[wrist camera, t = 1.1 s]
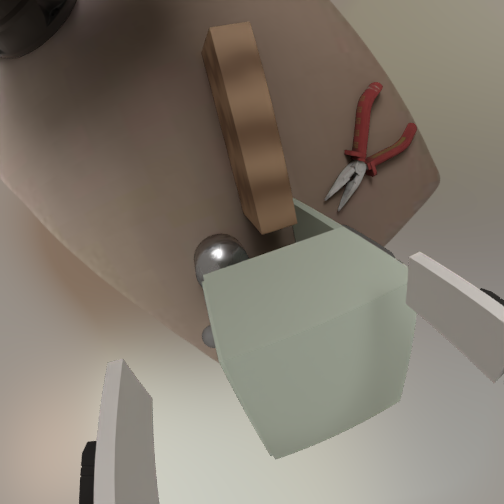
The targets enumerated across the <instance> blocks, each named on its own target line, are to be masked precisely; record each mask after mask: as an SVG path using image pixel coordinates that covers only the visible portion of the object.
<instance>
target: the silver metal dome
mask: <svg viewBox="0 0 504 504" xmlns="http://www.w3.org/2000/svg"><path fill="white" fill-rule="evenodd" d="M248 259H249V257H248V255H247V253H246V252H245V250H244V248H243V247H242V245H241V243H240V242H239V241H238V240H237V239H235V238H234V237H232V236H230V235H226V234H215V235H212V236H209V237H207V238H206V239H204V240H203V241H202V242H201V243H200V244H199V245H198V247H197V249H196V251H195V254H194V264H195V270H196V277H197V280H198V282H199V284H200V285H201V286H202V282H203V281H204V277H203V275H205V274H208V273H211V272H213V271H216V270H219V269H222V268H225V267H228V266H231V265H234V264H237V263H239V262H242V261H245V260H248ZM202 287H203V286H202Z"/></svg>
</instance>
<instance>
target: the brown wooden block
mask: <svg viewBox="0 0 504 504" xmlns="http://www.w3.org/2000/svg"><path fill="white" fill-rule="evenodd" d="M202 56H203V60H204V64H205V68H206V71H207V75H208V79H209V83H210V87H211V91H212V94H213V98H214V102H215V106H216V110H217V113H218V117H219V121H220V125H221V129H222V133H223V136H224V140H225V144H226V148H227V152H228V156H229V159H230V163H231V167H232V171H233V175H234V179H235V182H236V186H237V190H238V194H239V198H240V202H241V205H242V209H243V213H244V214H245V216H246V217H247V218H248V219H249V220H250V221H251V222H252V224H253V225H254V226H255V227H256V228H257V229H258V231H259V232H260V233H261V234H262V235H263V234H266V233H269V232H273V231H276V230H279V229H282V228H285V227H288V226H291V225H295V224H297V218H296V213H295V208H294V203H293V197H292V192H291V187H290V183H289V178H288V173H287V168H286V163H285V159H284V154H283V150H282V145H281V141H280V136H279V132H278V127H277V123H276V119H275V115H274V111H273V106H272V102H271V98H270V94H269V90H268V86H267V82H266V79H265V75H264V71H263V67H262V63H261V60H260V56H259V52H258V49H257V45H256V42H255V38H254V35H253V31H252V28H251V24H250V22H243V23H235V24H228V25H222V26H216V27H211V28H209V30H208V34H207V37H206V40H205V43H204V46H203V49H202Z"/></svg>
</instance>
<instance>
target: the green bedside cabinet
mask: <svg viewBox="0 0 504 504" xmlns="http://www.w3.org/2000/svg"><path fill="white" fill-rule="evenodd" d="M293 203H294V208H295V213H296V218H297V224H295V225H292V226H293V231H294V236H295V240H296V243H294V244H291V245H288V246H285V247H283V248H280V249H277V250H274V251H271V252H268V253H265V254H262V255H260V256H257V257H254V258H251V259H248V260H245V261H242V262H239V263H237V264H234V265H231V266H228V267H225V268H222V269H219V270H216V271H213V272H211V273H208V274H205V275H203V277H204V281H203V282H202V286H203V291H204V296H205V301H206V306H207V310H208V315H209V320H210V324H211V325H210V326H208V327H206V328H205V329H204V331H203V333H202V339H203V342H204V343H205V344H206V345H207V346H208V347H211V348H216V351H217V355H218V359H219V363H220V365H221V367H222V369H223V371H224V373H225V375H226V377H227V378H228V381H229V383H230V384H231V386H232V388H233V390H234V392H235V394H236V396H237V398H238V400H239V401H240V403H241V405H242V407H243V409H244V411H245V413H246V414H247V416H248V418H249V420H250V422H251V423H252V425H253V427H254V429H255V430H256V432H257V434H258V435H259V437H260V439H261V441H262V442H263V444H264V446H265V447H266V449H267V451H268V453H269V454H270V456H272V455H273V456H274V458H275V459H278V458H281V457H284V456H287V455H290V454H292V453H295V452H298V451H300V450H303V449H305V448H308V447H310V446H313V445H315V444H317V443H320V442H322V441H325V440H327V439H329V438H331V437H334V436H336V435H338V434H340V433H342V432H344V431H346V430H348V429H350V428H352V427H354V426H356V425H358V424H360V423H362V422H364V421H366V420H368V419H370V418H371V417H373V416H375V415H377V414H378V413H380V412H382V411H384V410H386V409H387V408H389V407H391V406H392V405H394V404H396V403H397V402H399V401H400V398H401V395H402V391H403V387H404V383H405V378H406V373H407V369H408V364H409V359H410V354H411V349H412V343H413V337H414V330H415V324H416V317H417V313H416V312H415V311H414V310H413V309H411V308H410V307H409V306H408V305H407V304H406V294H407V281H408V267H407V266H406V265H404V264H403V263H401V262H400V261H398V260H396V259H395V258H393V257H392V256H390V255H389V254H387V253H386V252H384V251H383V250H381V249H379V248H378V247H376V246H375V245H373V244H371V243H370V242H368V241H367V240H365V239H363V238H362V237H360V236H358V235H357V234H355V233H354V232H352V231H350V230H349V229H347V228H345V227H344V226H342V225H340V224H339V223H337V222H335V221H333V220H332V219H330V218H328V217H327V216H325V215H323V214H321V213H320V212H318V211H316V210H314V209H313V208H311V207H309V206H307V205H306V204H304V203H302V202H300V201H298V200H297V199H295V198H293Z"/></svg>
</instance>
